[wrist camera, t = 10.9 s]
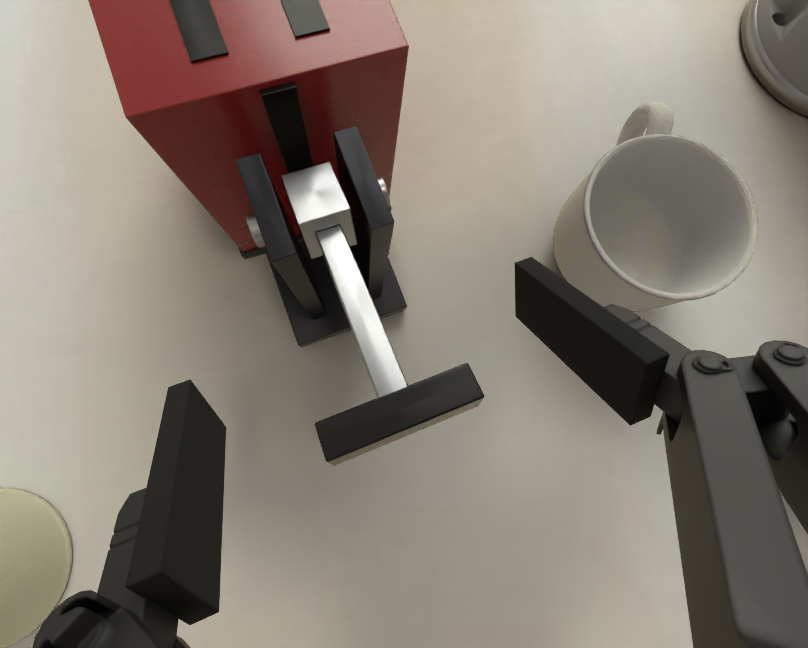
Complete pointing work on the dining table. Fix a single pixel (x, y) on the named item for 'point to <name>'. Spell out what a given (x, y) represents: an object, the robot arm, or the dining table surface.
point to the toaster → (255, 88)
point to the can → (30, 562)
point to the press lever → (367, 333)
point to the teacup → (656, 219)
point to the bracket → (310, 278)
